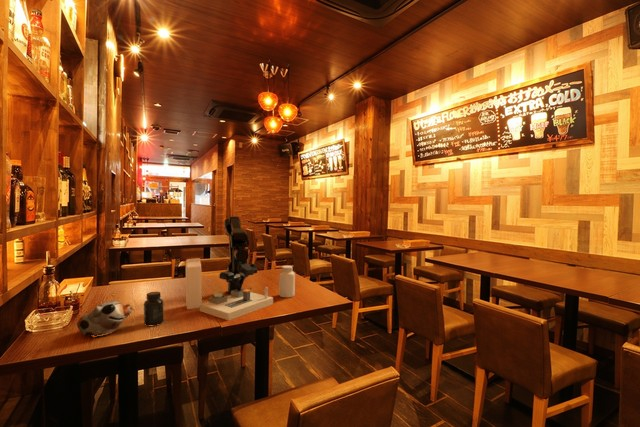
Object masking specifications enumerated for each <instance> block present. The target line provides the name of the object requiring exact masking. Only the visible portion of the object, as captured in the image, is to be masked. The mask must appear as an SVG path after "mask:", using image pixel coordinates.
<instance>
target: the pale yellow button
mask: <svg viewBox="0 0 640 427" xmlns="http://www.w3.org/2000/svg"><path fill="white" fill-rule="evenodd" d="M223 295H224V293H223V292H222V291H215V292H214V293H213V296H214V298H221V297H223Z"/></svg>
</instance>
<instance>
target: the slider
mask: <svg viewBox="0 0 640 427" xmlns="http://www.w3.org/2000/svg"><path fill="white" fill-rule="evenodd" d="M250 292H251V289H246V288H245V290H243V300H245V301H248V300H250Z"/></svg>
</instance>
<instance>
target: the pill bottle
mask: <svg viewBox="0 0 640 427" xmlns="http://www.w3.org/2000/svg"><path fill="white" fill-rule="evenodd" d="M278 282H279V283H278V284H279V285H278V294H279V297H281V298H287V299H288V298H292V297H295V296H296V294H295V293H296V290H295V289H296V288H295V287H296V273H295V272H294V270H293V266H292V265H282V266H281V271H280V273H279V277H278Z"/></svg>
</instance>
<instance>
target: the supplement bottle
mask: <svg viewBox="0 0 640 427" xmlns="http://www.w3.org/2000/svg"><path fill="white" fill-rule="evenodd" d="M161 297H162V296H161V292H160V291H149V292H148V293H146V300H145V301H144V302H143V324H144V325H145V324H146V325H156V326H158V325H157V324H160V325H162V324H163V323H162V322H164V319H165V318H164V316H165V315H164V300H163V299H162V298H161ZM161 323H162V324H161ZM146 325H145V326H146Z"/></svg>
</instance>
